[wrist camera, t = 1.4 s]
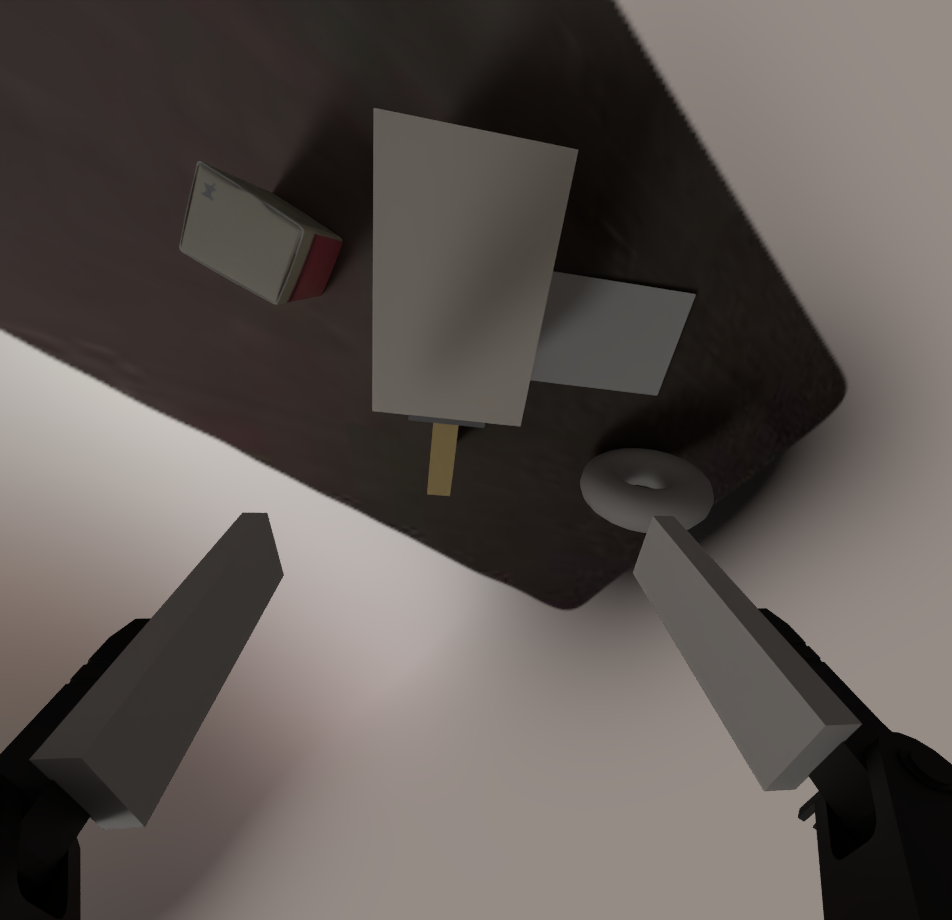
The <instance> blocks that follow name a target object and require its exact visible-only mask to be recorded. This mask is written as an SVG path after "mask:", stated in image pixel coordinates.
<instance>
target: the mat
mask: <svg viewBox="0 0 952 920" xmlns="http://www.w3.org/2000/svg"><path fill="white" fill-rule="evenodd" d="M695 296H696V294H691V293H685V292H679V291H673V290H666V289H660V288H654V287H648V286H641V285H635V284H629V283H623V282H616V281H610V280H604V279H598V278H591V277H585V276H579V275H573V274H567V273H560V272H554V271H553V273H552V278H551V283H550V288H549V292H548V297H547V302H546V307H545V312H544V316H543V321H542V326H541V331H540V335H539V340H538V345H537V350H536V354H535V359H534V364H533V369H532V373H531V378H530V380H533V381H541V382H550V383H558V384H566V385H574V386H583V387H591V388H599V389H607V390H616V391H624V392H632V393H640V394H649V395H658V392H659V390H660V387H661V384H662V382H663V379H664V376H665V374H666V371H667V369H668V366H669V363H670V361H671V358H672V356H673V353H674V350H675V348H676V345H677V343H678V340H679V337H680V335H681V332H682V330H683V327H684V324H685V322H686V319H687V316H688V314H689V311H690V309H691V306H692V303H693V301H694V298H695Z"/></svg>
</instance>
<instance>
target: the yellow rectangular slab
mask: <svg viewBox="0 0 952 920" xmlns="http://www.w3.org/2000/svg"><path fill="white" fill-rule="evenodd" d="M458 426H459V425H450V424H441V423H433V434H432V445H431V456H430V468H429V479H428V490H427V494H431V495H444V496H450V491H451V482H452V474H453V466H454V458H455V450H456V442H457V434H458Z"/></svg>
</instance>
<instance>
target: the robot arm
mask: <svg viewBox="0 0 952 920" xmlns="http://www.w3.org/2000/svg"><path fill="white" fill-rule="evenodd" d="M633 574H634V576H635V578H636V579H637V581H638V582H639V584H640V586H641V587H642V589H643V591H644V592H645V594H646V596H647V597H648V599H649V601H650V602H651V604H652V606H653V607H654V609H655V611H656V612H657V614H658V616H659V617H660V619H661V620H662V622H663V624H664V626H665V627H666V629H667V630H668V632H669V634H670V636H671V637H672V639H673V641H674V642H675V644H676V646H677V647H678V649H679V651H680V652H681V654H682V656H683V657H684V659H685V661H686V662H687V664H688V665H689V667H690V669H691V671H692V672H693V674H694V676H695V677H696V679H697V680H698V682H699V684H700V686H701V687H702V689H703V690H704V692H705V694H706V696H707V697H708V699H709V700H710V702H711V704H712V706H713V707H714V709H715V710H716V712H717V714H718V715H719V717H720V719H721V720H722V722H723V724H724V725H725V727H726V729H727V730H728V732H729V734H730V735H731V737H732V739H733V740H734V742H735V744H736V745H737V747H738V749H739V750H740V752H741V754H742V755H743V757H744V759H745V760H746V762H747V764H748V765H749V767H750V769H751V770H752V772H753V774H754V775H755V777H756V778H757V780H758V782H759V784H760V785H761V787H762V789H763V790H764V791H776V790H792V789H796V788H797V787H798V786H799V785H800V784H801V783H802V782H803V781H804V780H805V779H806V778H807V777H808V776H809V777H810V779H811V780H812V781H813V783H814V784H815V786H816V787H817V789H818V790H819V791H818V792H817V793H816V794H815V795H814V796H813V797H812V798H811V799H810V800H809V801H807V802H806V803H805V804H804V805H803V806H802V807H801V808H800V810H799V814H798V818H799V819H801V820H802V821H805V820H806V819H808V818H809V817H810V816H811V815H812V814H813V813H815V816H816V823H815V825H814V826H813V828H815V829H816V830H817V840H818V852H819V864H820V876H821V888H822V900H823V910H824V920H952V764H951V763H949V762H948V761H947V760H946V759H944V758H943V757H942V756H941V755H939V754H938V753H937V752H936V751H934V750H933V749H931V748H930V747H928V746H926V745H925V744H923V743H921V742H920V741H918V740H916V739H914V738H911V737H909V736H906V735H904V734H901V733H897V732H892V731H891V730H889V729H888V728H887V727H886V726H885V725H884V724H883V723H882V722H881V721H880V720H879V719H878V718H877V717H876V716H875V715H874V714H873V713H872V712H871V710H870V709H869V708H868V707H867V706H866V705H865V704H864V703H863V702H862V701H861V700H860V699H859V698H858V697H857V696H856V695H855V694H854V693H853V692H852V691H851V690H850V688H849V687H848V686H847V685H846V684H845V683H844V682H843V681H842V680H841V679H840V678H839V677H838V676H837V675H836V674H835V673H834V672H833V671H832V670H831V669H830V668H829V666H827V664H826V663H825V662H822V661H821V660H820V657H819V656H818V655H817V654H816V653H815V652H814V651H813V650H812V649H811V648H810V647H809V646H806V644H805V642H804V640H803V639H802V638H801V637H800V636H799V635H798V634H797V633H796V632H795V631H794V630H793V629H792V628H791V627H790V626H789V625H788V624H787V623H786V622H784V621H783V620H781V619H780V618H779V617H777V616H776V615H775V614H773V613H772V612H770V611H769V610H768V609H766V608H765V609H757V607H756V606H755V605H754V604H753V603H752V602H751V601H750V600H749V599H748V598H747V596H745V594H744V593H743V592H742V591H741V590H740V589H739V588H738V587H737V585H736V584H735V583H734V582H733V581H732V580H731V579H730V578H729V577H728V576H727V574H726V573H725V572H724V571H723V570H722V569H721V568H720V567H719V566H718V565H717V563H715V561H714V560H713V559H712V558H711V557H710V556H709V555H708V554H707V552H706V551H705V550H704V549H703V548H702V547H701V546H700V545H699V544H698V542H697V541H696V540H695V539H694V538H693V537H692V536H691V535H690V534H689V533H688V531H687V530H686V529H685V528H684V527H683V526H682V525H681V524H680V523H679V522H678V520H677V519H676V518H675V517H674V516H653V517H652V520H651V522H650V525H649V528H648V531H647V534H646V537H645V540H644V542H643V545H642V548H641V551H640V554H639V557H638V560H637V563H636V565H635V568H634V571H633ZM283 576H284V574H283V571H282V567H281V563H280V560H279V555H278V552H277V548H276V544H275V540H274V537H273V533H272V529H271V526H270V522H269V518H268V514H267V513H242V514H241V515H240V516H239V518H238V519H237V520H236V521H235V522H234V523H233V524H232V526H231V527H230V528H229V529H228V530H227V531H226V533H225V534H224V535H223V536H222V537H221V538H220V539H219V541H218V542H217V543H216V544H215V545H214V546H213V548H212V549H211V550H210V551H209V552H208V553H207V555H206V556H205V557H204V558H203V559H202V560H201V561H200V563H199V564H198V565H197V566H196V567H195V568H194V570H193V571H192V572H191V573H190V574H189V575H188V576H187V578H186V579H185V580H184V581H183V582H182V583H181V585H180V586H179V587H178V588H177V589H176V590H175V592H174V593H173V594H172V595H171V596H170V597H169V599H168V600H167V601H166V602H165V603H164V604H163V605H162V607H161V608H160V609H159V610H158V611H157V612H156V614H155V615H154V616H153V617H152V618H151V619H135V620H133V621H132V622H130V623H129V624H128V625H126V626H125V627H124V628H122V629H121V630H119V631H118V632H116V633H115V634H114V635H112V636H111V637H109V638H108V639H107V640H106V642H105V643H104V644H103V645H102V646H101V647H100V648H99V649H98V650H97V651H96V653H94V654H93V655H92V657H91V658H90V659H89V660H88V663H87V664H86V665H83V666H82V667H81V668H80V669H79V671H78V672H77V673H76V674H75V675H74V676H73V677H72V678H71V679H70V680H71V681H70V683H69V684H65V686H64V687H63V688H62V689H61V690H60V691H59V692H58V693H57V694H56V695H55V696H54V697H53V698H52V699H51V700H50V702H49V703H48V704H47V705H46V706H45V707H44V708H43V709H42V710H41V711H40V712H39V713H38V714H37V715H36V717H35V718H34V719H33V720H32V721H31V722H30V723H29V724H28V725H27V726H26V727H25V728H24V729H23V730H22V732H21V733H20V734H19V735H18V736H17V737H16V738H15V739H14V740H13V741H12V742H11V743H10V744H9V745H8V746H7V748H6V749H5V750H4V751H3V752H2V753H1V754H0V920H80V846H79V843H78V840H77V836H78V834H79V832H80V831H81V830H82V828H83V827H84V825H85V823H86V822H87V820H88V819H89V817H90V818H91V819H92V820H94V821H95V822H96V823H97V824H98V825H99V826H100V827H101V828H102V829H119V828H137V827H145V826H146V824H147V822H148V820H149V819H150V817H151V815H152V813H153V811H154V810H155V808H156V806H157V804H158V802H159V800H160V798H161V797H162V795H163V793H164V791H165V790H166V788H167V786H168V784H169V782H170V780H171V779H172V777H173V775H174V773H175V771H176V770H177V768H178V766H179V764H180V762H181V760H182V759H183V757H184V755H185V753H186V751H187V750H188V748H189V746H190V744H191V742H192V741H193V739H194V737H195V735H196V733H197V731H198V730H199V728H200V726H201V724H202V722H203V721H204V719H205V717H206V715H207V713H208V711H209V710H210V708H211V706H212V704H213V702H214V701H215V699H216V697H217V695H218V693H219V692H220V690H221V688H222V686H223V684H224V683H225V681H226V679H227V677H228V675H229V673H230V672H231V670H232V668H233V666H234V664H235V662H236V661H237V659H238V657H239V655H240V654H241V652H242V650H243V648H244V646H245V644H246V643H247V641H248V639H249V637H250V635H251V634H252V632H253V630H254V628H255V626H256V625H257V623H258V621H259V619H260V617H261V615H262V614H263V612H264V610H265V608H266V606H267V605H268V603H269V601H270V599H271V597H272V595H273V593H274V592H275V590H276V588H277V586H278V585H279V583H280V581H281V579H282V577H283Z"/></svg>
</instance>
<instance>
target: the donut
mask: <svg viewBox="0 0 952 920" xmlns="http://www.w3.org/2000/svg"><path fill="white" fill-rule="evenodd" d="M634 485H642V486H647V487H650V488H653V489H648V488H642V487H638V486H634ZM580 486H581V490H582V493H583V497H584V499H585V501H586V502H587V503H588V504H589V506H590V507H591V508H592V509H593V510H594V511H595V512H596V513H597V514H599V515H600V516H602V517H603V518H605V519H606V520H608V521H609V522H611V523H613V524H616V525H618V526H621V527H623V528H626V529H629V530H633V531H638V532H643V533H647V531H648V528H649V525H650V522H651V520H652V517H653V516H674V517H675V518H676V519H677V520H678V522H679V523H680V524H681V525H682V526H683V527H684V528H685V529H686V530H687V529H690V528H691V527H693V526H695V525H696V524H698V523H699V522H701V521H702V520H704V519H705V518H706V516H707V515H708V513H709V511H710V509H711V507H712V505H713V502H714V495H713V491H712V487H711V484H710V481H709V480H708V479H707V478H706V477H705V475H704V474H703V473H702V472H701V471H700V470H699V469H698V468H697V467H695V466H694V465H692V464H691V463H689V462H688V461H686V460H684V459H681V458H679V457H676V456H674V455H672V454H668V453H664V452H660V451H656V450H650V449H642V448H622V449H616V450H611V451H607V452H605V453H603V454H600V455H598V456H596V457H595V458H593V459H592V460H591V461H590V462H589V463H588V464H587V465H586V466H585V468H584V470H583V474H582V477H581V480H580Z"/></svg>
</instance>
